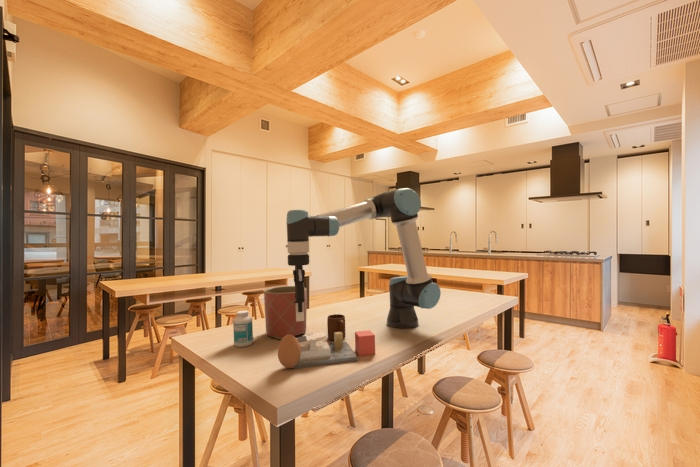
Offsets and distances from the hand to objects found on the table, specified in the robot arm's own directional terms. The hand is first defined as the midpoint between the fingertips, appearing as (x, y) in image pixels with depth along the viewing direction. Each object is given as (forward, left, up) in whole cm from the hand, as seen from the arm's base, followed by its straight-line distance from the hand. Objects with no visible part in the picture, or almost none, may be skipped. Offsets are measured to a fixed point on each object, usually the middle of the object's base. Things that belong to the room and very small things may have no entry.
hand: (300, 320), depth 112 cm
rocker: (-4, 0, -7) cm, 8 cm away
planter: (+4, -34, -14) cm, 37 cm away
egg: (+4, +5, -14) cm, 16 cm away
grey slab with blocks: (-8, -2, -14) cm, 16 cm away
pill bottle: (+21, -24, -14) cm, 35 cm away
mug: (-17, -18, -14) cm, 29 cm away
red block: (-24, -1, -14) cm, 28 cm away
